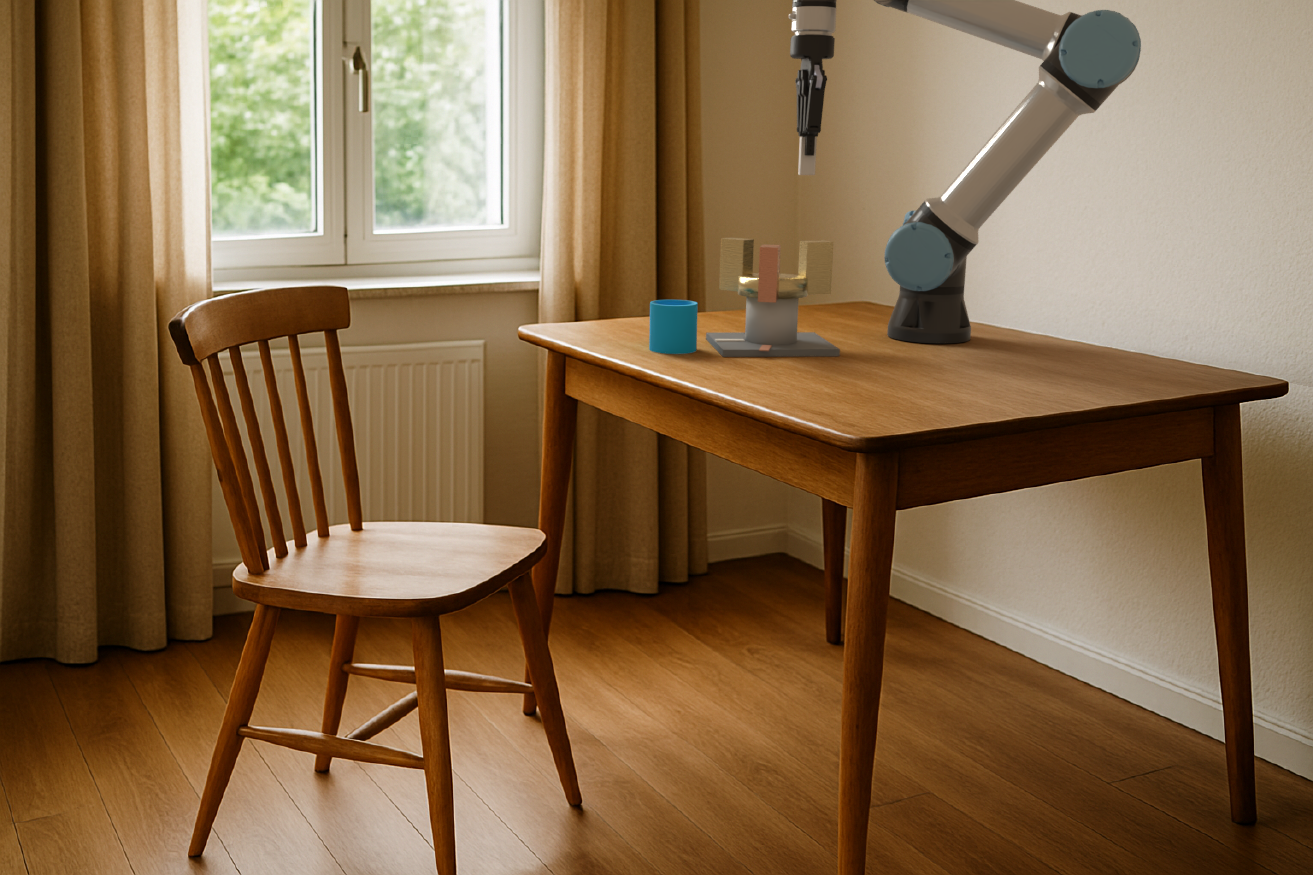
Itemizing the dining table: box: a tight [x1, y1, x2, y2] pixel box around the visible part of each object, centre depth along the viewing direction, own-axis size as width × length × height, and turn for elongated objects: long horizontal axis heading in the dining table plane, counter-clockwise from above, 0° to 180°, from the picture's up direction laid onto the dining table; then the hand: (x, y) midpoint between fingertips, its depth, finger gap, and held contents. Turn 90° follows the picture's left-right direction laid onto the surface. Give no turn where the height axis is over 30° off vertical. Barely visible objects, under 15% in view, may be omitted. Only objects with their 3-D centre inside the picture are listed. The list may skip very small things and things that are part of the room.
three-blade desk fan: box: [718, 237, 834, 303], centre depth 214 cm, size 17×20×9 cm
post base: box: [705, 297, 841, 358], centre depth 217 cm, size 20×20×9 cm
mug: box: [648, 299, 699, 355], centre depth 216 cm, size 12×8×8 cm
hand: (806, 174), depth 220 cm, fingers closed
